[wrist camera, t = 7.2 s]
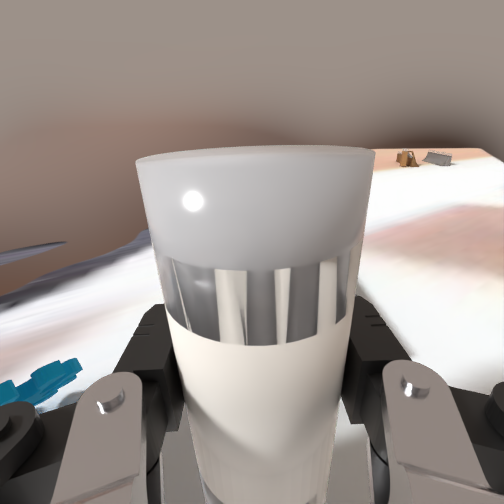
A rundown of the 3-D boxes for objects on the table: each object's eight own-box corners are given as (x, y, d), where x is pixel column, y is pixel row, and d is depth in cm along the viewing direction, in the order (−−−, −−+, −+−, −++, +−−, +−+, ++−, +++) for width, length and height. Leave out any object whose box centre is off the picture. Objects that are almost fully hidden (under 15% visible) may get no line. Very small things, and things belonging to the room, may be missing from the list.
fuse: (195, 569, 9) (81, 176, 4) (212, 423, 13) (170, 149, 8) (342, 562, 9) (436, 161, 4) (310, 419, 13) (333, 142, 8)
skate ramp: (470, 169, 101) (475, 147, 98) (369, 171, 107) (372, 151, 103) (435, 160, 127) (438, 142, 124) (356, 162, 133) (357, 146, 130)
